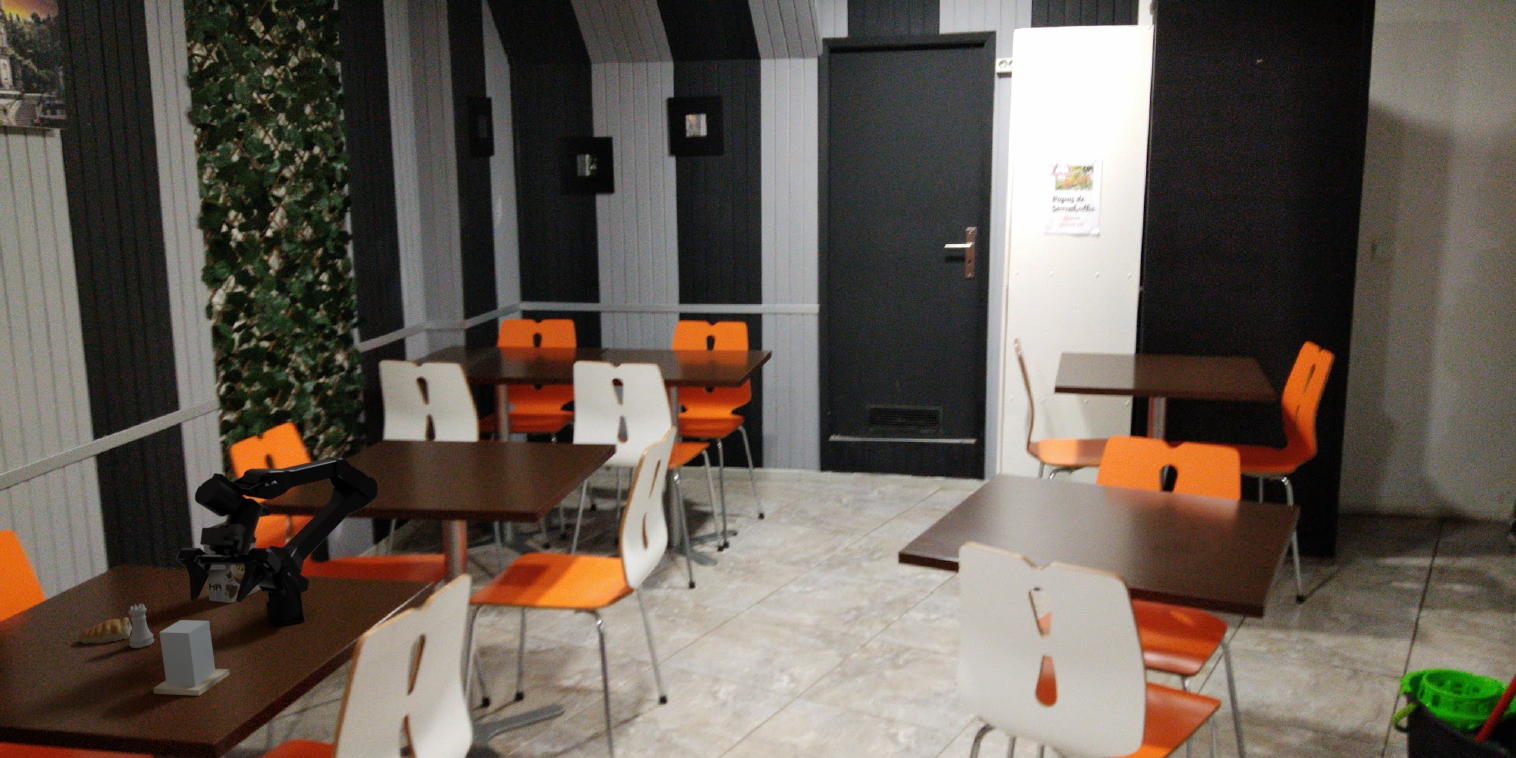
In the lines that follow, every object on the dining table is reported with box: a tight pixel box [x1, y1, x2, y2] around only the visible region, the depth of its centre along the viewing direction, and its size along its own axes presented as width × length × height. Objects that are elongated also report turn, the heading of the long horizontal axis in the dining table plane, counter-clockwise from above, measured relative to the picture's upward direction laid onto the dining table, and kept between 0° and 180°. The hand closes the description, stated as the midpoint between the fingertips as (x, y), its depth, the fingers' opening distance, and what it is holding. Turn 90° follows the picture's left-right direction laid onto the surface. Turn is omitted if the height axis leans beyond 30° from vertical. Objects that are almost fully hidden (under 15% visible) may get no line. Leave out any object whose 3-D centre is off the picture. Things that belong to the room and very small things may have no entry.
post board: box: [152, 668, 230, 697], centre depth 220 cm, size 9×9×4 cm
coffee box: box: [202, 520, 261, 604], centre depth 265 cm, size 9×6×16 cm
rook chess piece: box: [128, 603, 155, 649], centre depth 239 cm, size 4×4×8 cm
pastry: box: [78, 616, 133, 645], centre depth 244 cm, size 9×7×4 cm
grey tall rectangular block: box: [159, 619, 216, 686], centre depth 219 cm, size 6×6×10 cm
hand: (215, 601), depth 229 cm, fingers open, 9 cm apart
